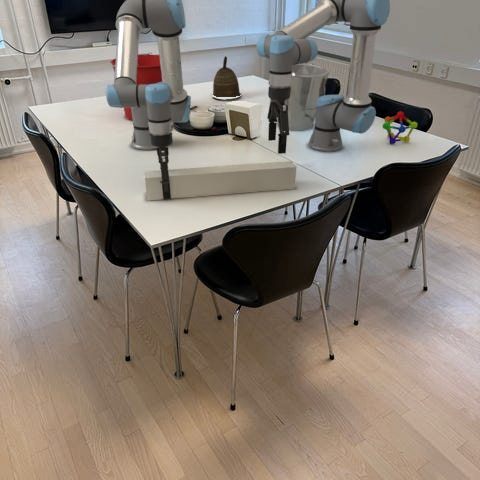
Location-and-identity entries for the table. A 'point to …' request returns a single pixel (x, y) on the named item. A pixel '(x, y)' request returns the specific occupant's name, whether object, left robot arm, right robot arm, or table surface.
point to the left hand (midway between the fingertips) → (166, 194)
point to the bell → (225, 82)
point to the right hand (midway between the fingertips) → (276, 146)
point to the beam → (222, 180)
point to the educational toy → (398, 128)
